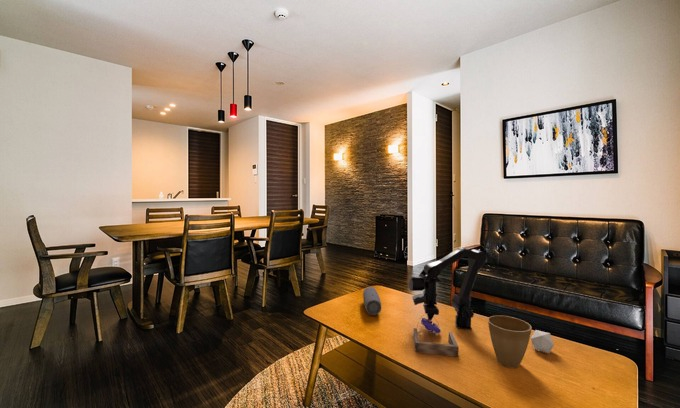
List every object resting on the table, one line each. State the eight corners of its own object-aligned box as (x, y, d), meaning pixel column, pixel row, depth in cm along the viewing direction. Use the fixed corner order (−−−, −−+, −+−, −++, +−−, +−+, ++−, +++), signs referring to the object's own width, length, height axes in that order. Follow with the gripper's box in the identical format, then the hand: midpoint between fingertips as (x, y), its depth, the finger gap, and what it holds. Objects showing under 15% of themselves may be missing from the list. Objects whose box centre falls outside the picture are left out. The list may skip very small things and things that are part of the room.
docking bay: (451, 340, 133) (452, 331, 132) (458, 356, 119) (458, 347, 119) (413, 336, 136) (413, 328, 136) (415, 352, 123) (415, 342, 122)
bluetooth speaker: (382, 317, 156) (382, 299, 156) (365, 317, 156) (365, 298, 156) (377, 301, 179) (377, 285, 179) (362, 301, 179) (362, 285, 179)
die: (555, 351, 126) (542, 328, 131) (562, 350, 119) (548, 326, 124) (536, 356, 127) (523, 333, 132) (542, 356, 120) (528, 331, 125)
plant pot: (529, 359, 118) (531, 320, 118) (530, 378, 106) (531, 335, 105) (488, 348, 126) (489, 312, 126) (484, 365, 114) (485, 324, 113)
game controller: (448, 324, 139) (438, 327, 131) (440, 341, 140) (430, 345, 132) (428, 311, 147) (418, 313, 139) (421, 327, 148) (410, 330, 140)
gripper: (412, 283, 155) (411, 312, 156) (414, 295, 137) (413, 328, 138) (434, 285, 153) (433, 314, 154) (439, 297, 135) (438, 330, 136)
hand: (429, 321), depth 145 cm, fingers closed
